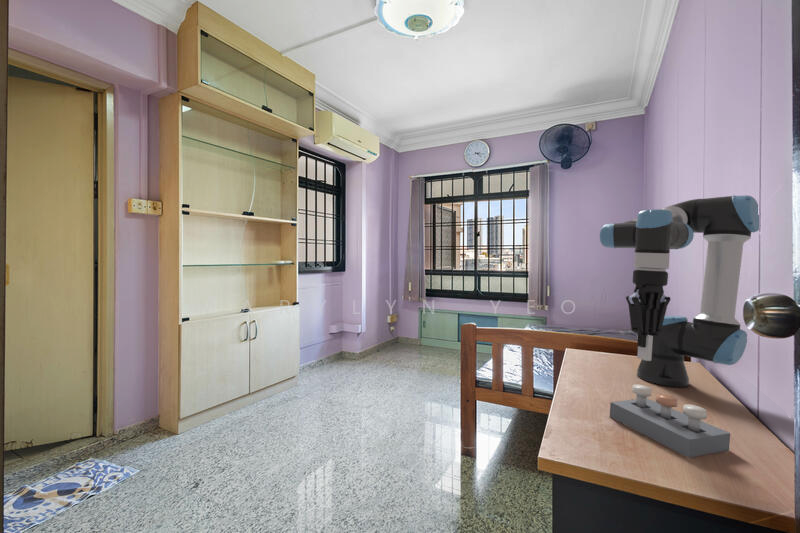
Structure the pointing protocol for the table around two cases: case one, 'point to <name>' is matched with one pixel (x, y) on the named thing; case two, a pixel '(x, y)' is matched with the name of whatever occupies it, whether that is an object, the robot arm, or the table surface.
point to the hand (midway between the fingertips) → (644, 359)
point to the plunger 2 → (694, 416)
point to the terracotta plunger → (666, 405)
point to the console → (670, 428)
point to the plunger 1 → (641, 394)
